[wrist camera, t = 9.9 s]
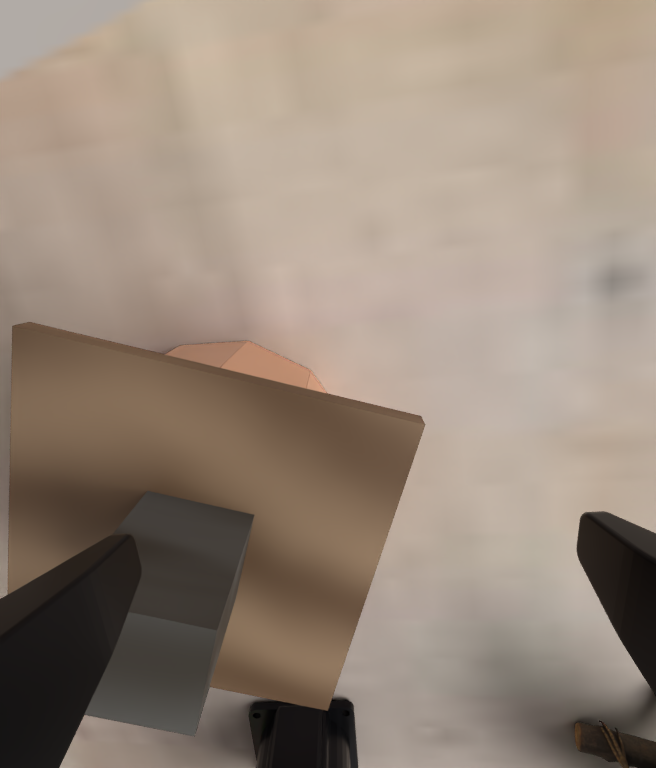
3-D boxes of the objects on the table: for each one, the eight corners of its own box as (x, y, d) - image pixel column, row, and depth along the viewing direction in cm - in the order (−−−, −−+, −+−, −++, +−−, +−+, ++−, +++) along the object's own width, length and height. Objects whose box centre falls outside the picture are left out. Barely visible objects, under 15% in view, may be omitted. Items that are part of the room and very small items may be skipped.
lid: (328, 692, 19) (323, 871, 14) (20, 629, 18) (-117, 789, 13) (420, 416, 15) (469, 510, 10) (29, 322, 14) (-164, 364, 9)
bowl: (356, 551, 23) (360, 630, 18) (140, 561, 23) (90, 640, 19) (342, 334, 19) (343, 360, 15) (89, 351, 20) (10, 382, 15)
